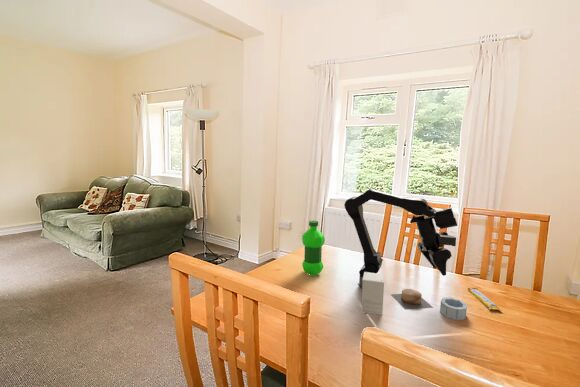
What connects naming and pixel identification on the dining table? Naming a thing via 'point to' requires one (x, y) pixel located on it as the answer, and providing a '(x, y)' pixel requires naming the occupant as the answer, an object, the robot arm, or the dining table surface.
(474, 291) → the candy bar
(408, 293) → the tan rounded dome
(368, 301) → the supplement box
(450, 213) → the robot arm
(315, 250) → the plastic bottle
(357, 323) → the dining table surface
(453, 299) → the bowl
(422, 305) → the mat
